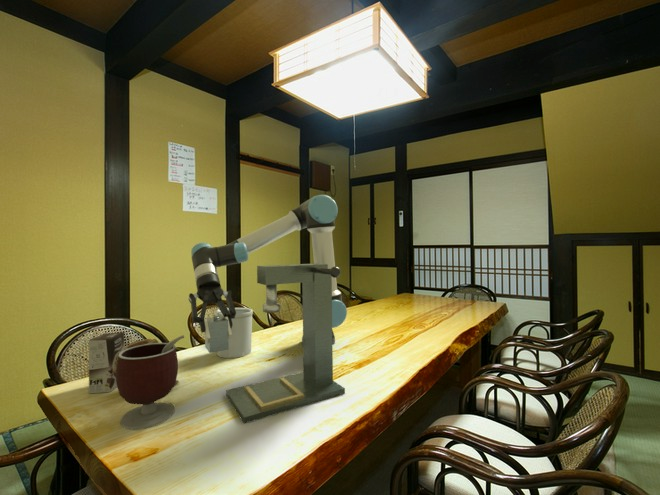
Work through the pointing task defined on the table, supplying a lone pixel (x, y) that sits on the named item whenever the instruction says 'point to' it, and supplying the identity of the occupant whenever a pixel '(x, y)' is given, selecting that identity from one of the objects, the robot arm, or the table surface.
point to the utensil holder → (239, 334)
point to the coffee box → (104, 361)
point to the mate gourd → (147, 382)
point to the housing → (217, 333)
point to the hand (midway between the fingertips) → (219, 338)
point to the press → (316, 345)
